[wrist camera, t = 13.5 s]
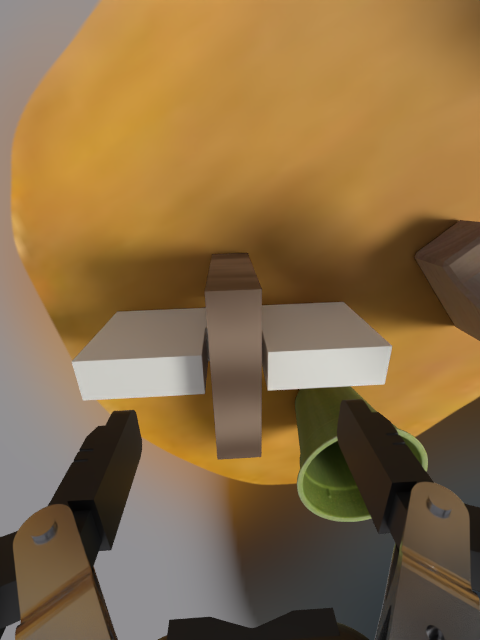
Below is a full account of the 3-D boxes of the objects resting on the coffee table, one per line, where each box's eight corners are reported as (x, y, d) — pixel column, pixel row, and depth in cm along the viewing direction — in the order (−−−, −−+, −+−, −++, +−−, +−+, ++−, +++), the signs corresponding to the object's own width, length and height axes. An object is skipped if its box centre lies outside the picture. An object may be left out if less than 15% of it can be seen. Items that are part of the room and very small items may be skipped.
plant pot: (362, 433, 39) (411, 519, 29) (274, 436, 39) (292, 524, 28) (379, 356, 35) (445, 426, 24) (279, 358, 34) (303, 430, 24)
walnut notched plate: (212, 254, 29) (204, 291, 18) (247, 253, 29) (261, 289, 18) (219, 374, 34) (217, 459, 23) (249, 372, 35) (261, 456, 24)
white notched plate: (117, 311, 31) (71, 361, 22) (343, 301, 32) (392, 346, 22) (123, 341, 32) (83, 400, 23) (339, 331, 33) (384, 384, 24)
